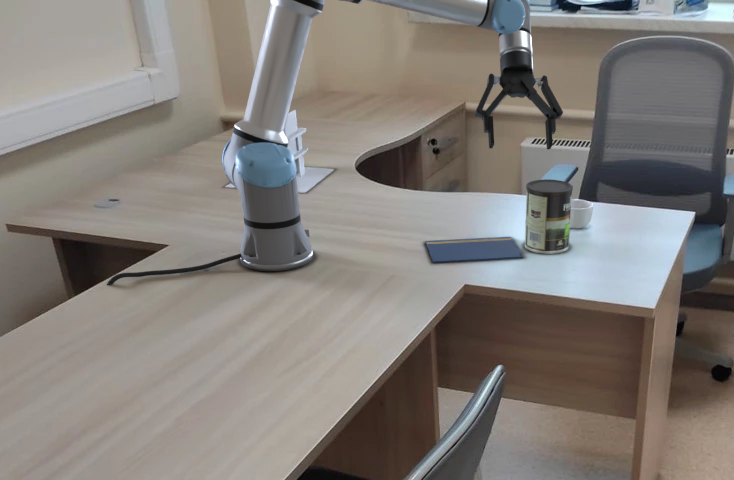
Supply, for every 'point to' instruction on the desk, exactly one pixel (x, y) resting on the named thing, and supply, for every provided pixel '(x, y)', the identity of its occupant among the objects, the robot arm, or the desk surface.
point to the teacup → (580, 213)
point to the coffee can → (548, 216)
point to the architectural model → (300, 157)
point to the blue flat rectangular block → (473, 249)
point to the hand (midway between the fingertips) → (520, 146)
